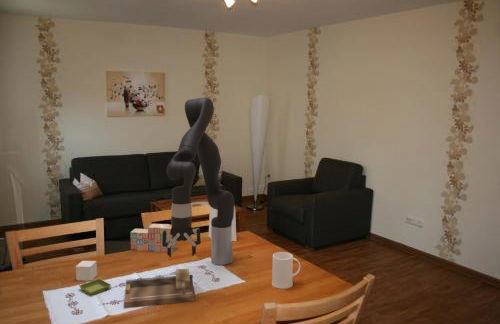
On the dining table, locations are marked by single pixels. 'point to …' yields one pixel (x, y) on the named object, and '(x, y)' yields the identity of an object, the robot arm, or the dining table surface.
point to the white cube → (86, 270)
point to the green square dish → (95, 286)
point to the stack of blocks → (151, 238)
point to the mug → (283, 270)
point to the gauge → (182, 279)
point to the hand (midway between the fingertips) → (181, 255)
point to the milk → (214, 214)
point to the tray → (156, 292)
